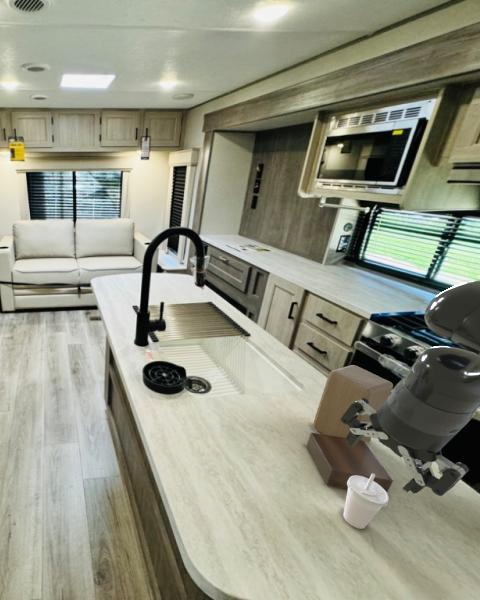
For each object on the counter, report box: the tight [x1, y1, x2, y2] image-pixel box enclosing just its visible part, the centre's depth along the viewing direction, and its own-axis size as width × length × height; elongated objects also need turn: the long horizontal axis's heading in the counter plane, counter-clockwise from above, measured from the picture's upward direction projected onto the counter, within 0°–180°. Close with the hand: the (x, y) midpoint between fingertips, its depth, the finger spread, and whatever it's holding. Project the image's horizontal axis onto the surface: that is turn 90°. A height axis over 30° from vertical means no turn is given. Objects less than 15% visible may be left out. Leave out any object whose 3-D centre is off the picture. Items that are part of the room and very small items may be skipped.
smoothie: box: [342, 473, 390, 530], centre depth 65 cm, size 6×6×14 cm
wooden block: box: [312, 364, 394, 444], centre depth 86 cm, size 10×10×20 cm
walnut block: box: [306, 432, 394, 494], centre depth 78 cm, size 12×12×5 cm
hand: (378, 464), depth 54 cm, fingers open, 8 cm apart
